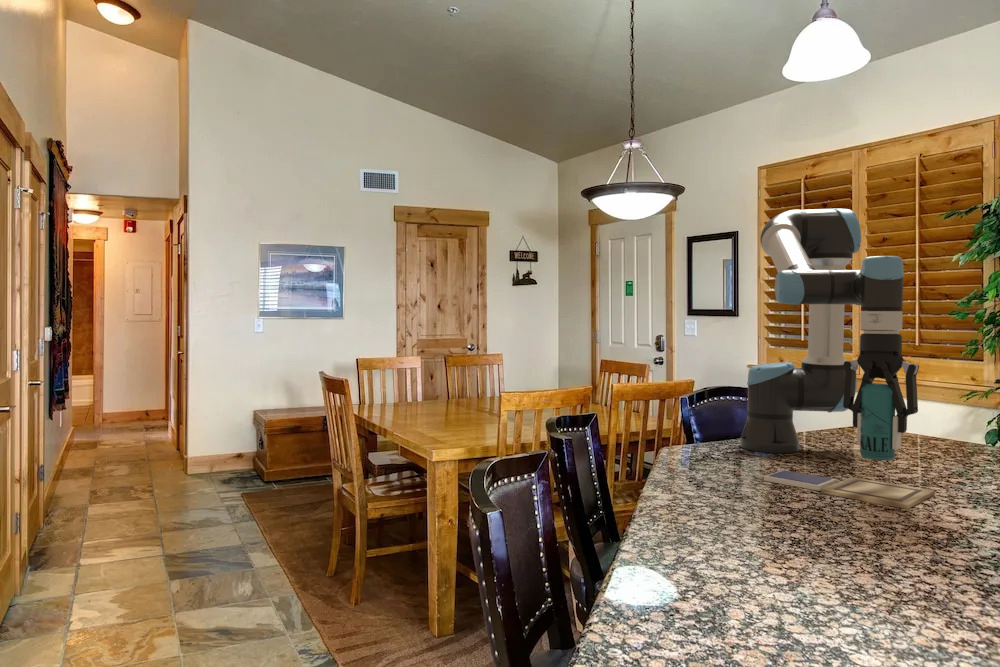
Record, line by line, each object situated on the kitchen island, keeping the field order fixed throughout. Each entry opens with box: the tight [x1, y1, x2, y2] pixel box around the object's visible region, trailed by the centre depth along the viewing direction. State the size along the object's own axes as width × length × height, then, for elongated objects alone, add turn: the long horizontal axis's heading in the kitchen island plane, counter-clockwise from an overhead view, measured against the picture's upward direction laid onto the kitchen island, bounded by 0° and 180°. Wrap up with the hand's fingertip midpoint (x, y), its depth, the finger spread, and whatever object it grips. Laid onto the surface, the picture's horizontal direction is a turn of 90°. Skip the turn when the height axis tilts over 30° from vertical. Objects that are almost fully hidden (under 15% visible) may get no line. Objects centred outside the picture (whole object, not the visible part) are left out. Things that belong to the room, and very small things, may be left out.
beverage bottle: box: [859, 367, 896, 462], centre depth 142 cm, size 6×7×20 cm
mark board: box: [820, 476, 935, 510], centre depth 143 cm, size 16×16×1 cm
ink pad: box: [763, 469, 838, 492], centre depth 152 cm, size 12×9×1 cm
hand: (878, 446), depth 142 cm, fingers closed on beverage bottle, 6 cm apart
